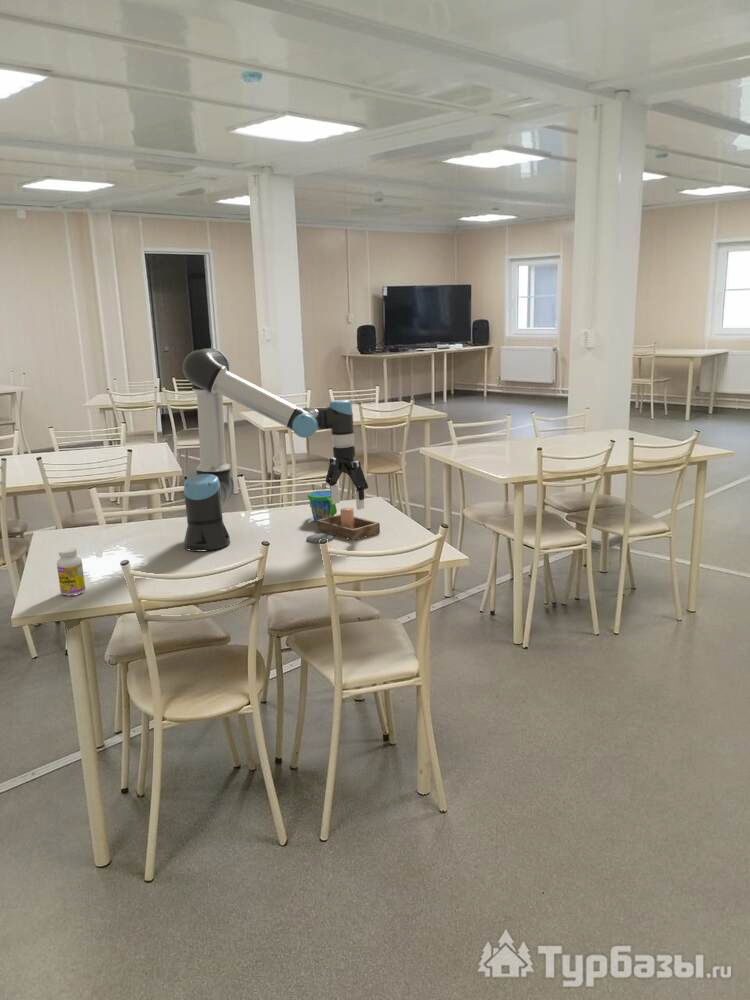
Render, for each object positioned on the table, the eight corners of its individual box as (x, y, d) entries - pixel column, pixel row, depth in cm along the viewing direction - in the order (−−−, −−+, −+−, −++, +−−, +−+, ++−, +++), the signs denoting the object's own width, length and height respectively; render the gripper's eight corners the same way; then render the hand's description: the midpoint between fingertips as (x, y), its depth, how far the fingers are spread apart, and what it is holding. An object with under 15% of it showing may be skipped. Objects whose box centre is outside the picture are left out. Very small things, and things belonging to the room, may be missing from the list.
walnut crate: (353, 540, 258) (352, 530, 257) (317, 529, 272) (316, 520, 272) (379, 532, 265) (379, 522, 265) (343, 522, 280) (342, 513, 279)
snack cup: (345, 522, 281) (344, 495, 279) (319, 526, 276) (317, 499, 274) (328, 513, 295) (326, 487, 292) (302, 517, 290) (300, 491, 287)
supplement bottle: (56, 597, 216) (49, 553, 213) (69, 588, 223) (62, 546, 220) (78, 597, 215) (72, 553, 212) (90, 589, 222) (84, 546, 219)
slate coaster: (317, 544, 255) (317, 542, 255) (301, 539, 261) (301, 537, 261) (338, 538, 261) (338, 537, 260) (322, 533, 267) (322, 532, 267)
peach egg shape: (347, 534, 266) (346, 511, 264) (338, 531, 269) (337, 509, 267) (357, 531, 269) (356, 509, 267) (349, 528, 272) (347, 507, 270)
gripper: (376, 447, 255) (379, 508, 260) (329, 441, 273) (333, 498, 278) (358, 450, 250) (363, 513, 255) (312, 444, 269) (317, 503, 274)
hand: (347, 506), depth 267 cm, fingers open, 13 cm apart
